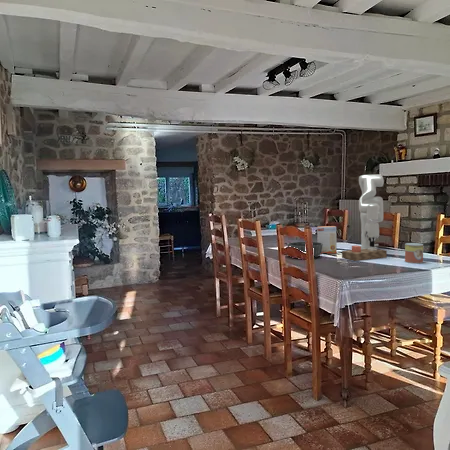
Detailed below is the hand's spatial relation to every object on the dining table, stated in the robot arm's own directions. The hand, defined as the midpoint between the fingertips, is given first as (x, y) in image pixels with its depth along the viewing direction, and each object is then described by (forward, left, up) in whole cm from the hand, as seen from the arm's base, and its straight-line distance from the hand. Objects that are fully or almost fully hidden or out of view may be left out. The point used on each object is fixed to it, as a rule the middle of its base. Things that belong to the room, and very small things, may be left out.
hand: (372, 246), depth 301 cm
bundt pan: (+41, -25, -8) cm, 49 cm away
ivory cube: (0, 0, -6) cm, 6 cm away
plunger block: (+7, 0, -8) cm, 10 cm away
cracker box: (+18, -30, -8) cm, 36 cm away
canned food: (-11, +28, -8) cm, 31 cm away
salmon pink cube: (+14, 0, -3) cm, 15 cm away
